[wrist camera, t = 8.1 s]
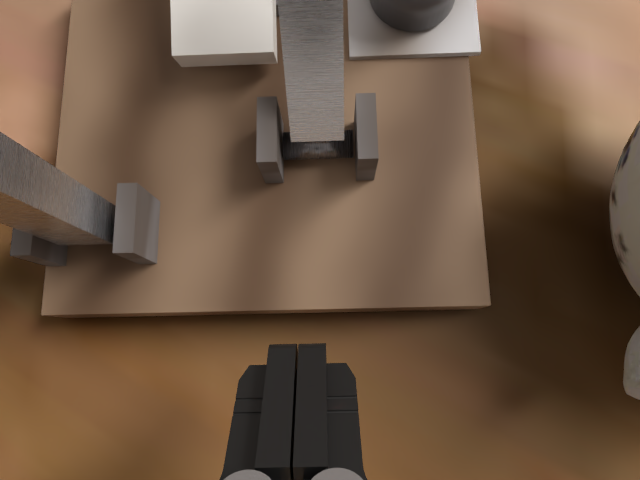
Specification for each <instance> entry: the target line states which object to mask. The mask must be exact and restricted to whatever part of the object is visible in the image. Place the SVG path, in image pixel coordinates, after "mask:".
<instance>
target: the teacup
mask: <svg viewBox="0 0 640 480" xmlns="http://www.w3.org/2000/svg"><path fill="white" fill-rule="evenodd" d="M609 220H610V228H611V236H612V243H613V247H614V250H615V253H616V256H617V259H618V262H619V264H620V266H621V268H622V270H623V272H624V274H625V276H626V278H627V279H628V281H629V283H630V284H631V286H632V287H633V289H634V290H635V291H636V293H637V294H638V295H639V297H640V121H639V123H638V124H637V126H636V127H635V129H634V131H633V133H632V134H631V136H630V138H629V140H628V142H627V144H626V145H625V147H624V150H623V152H622V155H621V157H620V159H619V162H618V165H617V168H616V171H615V174H614V178H613V182H612V187H611V191H610V204H609ZM623 385H624V389H625V392H626V394H628V395H630V396H632V397H634V398H636V399H639V400H640V326H639V327H638V329H637V330H636V331H635V332H634V334H633V335H632V337H631V339H630V341H629V343H628V345H627V349H626V353H625V360H624V375H623Z"/></svg>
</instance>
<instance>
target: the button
mask: <svg viewBox="0 0 640 480" xmlns="http://www.w3.org/2000/svg"><path fill="white" fill-rule="evenodd" d="M454 2H455V0H370V3H371V6H372V8H373V10H374V12H375V13H376V15H377V16H378V17H379V18H380V19H381V20H382V21H383V22H385V23H386V24H388V25H389V26H391V27H394V28H396V29H399V30H403V31H422V30H426V29H429V28H432V27H434V26H436V25H437V24H439V23H441V22H442V21H443V20H444V19H445V18H446V17H447V16H448V15H449V13H450V12H451V10H452V8H453V5H454Z"/></svg>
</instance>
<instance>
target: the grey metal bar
mask: <svg viewBox="0 0 640 480" xmlns="http://www.w3.org/2000/svg"><path fill="white" fill-rule="evenodd" d="M115 209H116V206H115V205H113V204H112V203H110V202H109V201H107V200H106V199H104V198H103V197H101V196H99V195H98V194H96V193H95V192H93V191H92V190H90V189H89V188H87V187H85V186H84V185H82V184H81V183H79V182H78V181H76V180H74V179H73V178H71V177H70V176H68V175H67V174H65V173H64V172H62V171H60V170H59V169H57V168H56V167H54V166H53V165H51V164H50V163H48V162H46V161H45V160H43V159H42V158H40V157H39V156H37V155H35V154H34V153H32V152H31V151H29V150H28V149H26V148H25V147H23V146H21V145H20V144H18V143H17V142H15V141H14V140H12V139H11V138H9V137H7V136H6V135H4V134H3V133H1V132H0V223H1V224H4V225H7V226H9V227H12V228H15V229H17V230H20V231H23V232H26V233H28V234H31V235H34V236H36V237H39V238H42V239H44V240H47V241H50V242H52V243H55V244H58V245H91V244H113V237H114V223H115Z"/></svg>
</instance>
